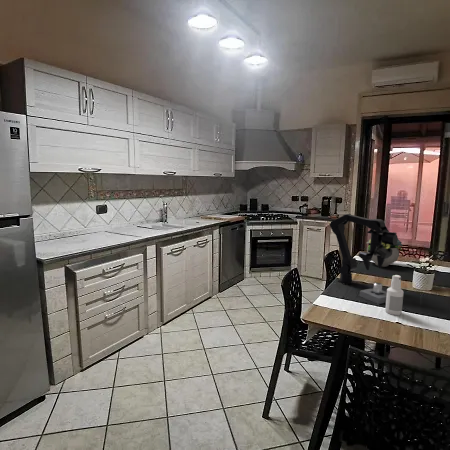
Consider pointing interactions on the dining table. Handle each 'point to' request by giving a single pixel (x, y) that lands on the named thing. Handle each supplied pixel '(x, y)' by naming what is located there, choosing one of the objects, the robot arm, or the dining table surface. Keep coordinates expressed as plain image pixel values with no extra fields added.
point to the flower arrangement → (392, 258)
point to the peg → (377, 288)
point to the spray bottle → (394, 296)
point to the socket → (374, 296)
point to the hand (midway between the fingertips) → (373, 269)
